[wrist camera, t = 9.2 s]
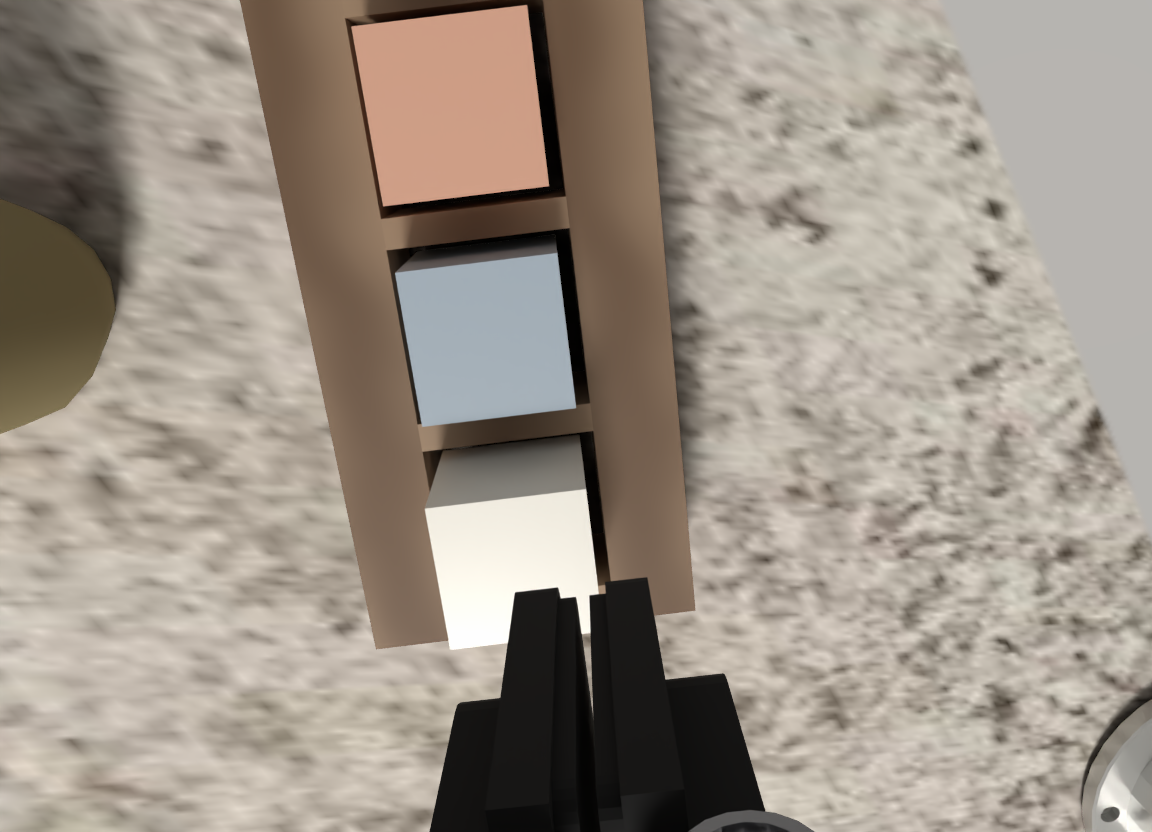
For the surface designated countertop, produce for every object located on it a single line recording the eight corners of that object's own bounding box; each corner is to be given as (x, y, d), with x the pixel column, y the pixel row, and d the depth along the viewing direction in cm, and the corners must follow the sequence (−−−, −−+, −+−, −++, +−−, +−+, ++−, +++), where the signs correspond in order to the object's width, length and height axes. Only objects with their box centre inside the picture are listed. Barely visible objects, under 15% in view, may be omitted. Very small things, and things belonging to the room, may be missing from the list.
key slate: (554, 234, 33) (557, 252, 28) (571, 367, 34) (576, 408, 29) (417, 250, 33) (394, 272, 28) (440, 383, 34) (422, 426, 29)
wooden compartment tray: (623, -46, 31) (636, -74, 27) (678, 556, 38) (695, 610, 34) (277, -3, 31) (234, -25, 27) (394, 591, 38) (376, 649, 34)
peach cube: (529, 25, 31) (527, 4, 26) (548, 177, 32) (549, 186, 27) (382, 43, 31) (351, 26, 26) (408, 194, 32) (383, 206, 27)
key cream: (579, 434, 33) (586, 489, 28) (594, 558, 34) (603, 631, 29) (442, 450, 33) (424, 508, 28) (463, 573, 34) (450, 649, 29)
